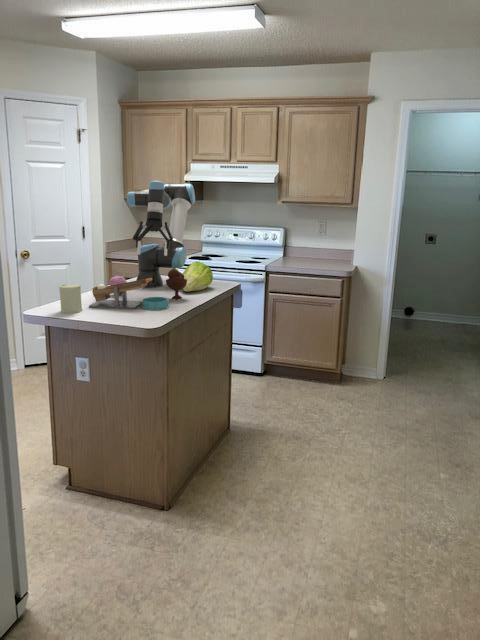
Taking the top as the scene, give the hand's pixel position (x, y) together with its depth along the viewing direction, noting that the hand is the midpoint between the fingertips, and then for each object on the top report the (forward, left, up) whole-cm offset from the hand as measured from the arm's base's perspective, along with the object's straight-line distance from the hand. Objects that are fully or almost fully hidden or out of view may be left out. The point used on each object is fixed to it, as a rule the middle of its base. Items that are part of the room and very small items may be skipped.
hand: (152, 255), depth 252 cm
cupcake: (-6, -20, -22) cm, 31 cm away
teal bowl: (+18, +6, -22) cm, 29 cm away
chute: (+14, -10, -17) cm, 24 cm away
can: (+32, -28, -22) cm, 48 cm away
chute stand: (+18, -12, -22) cm, 31 cm away
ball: (+18, -20, -14) cm, 30 cm away
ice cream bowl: (-2, +12, -22) cm, 25 cm away
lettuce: (-26, +16, -22) cm, 37 cm away
